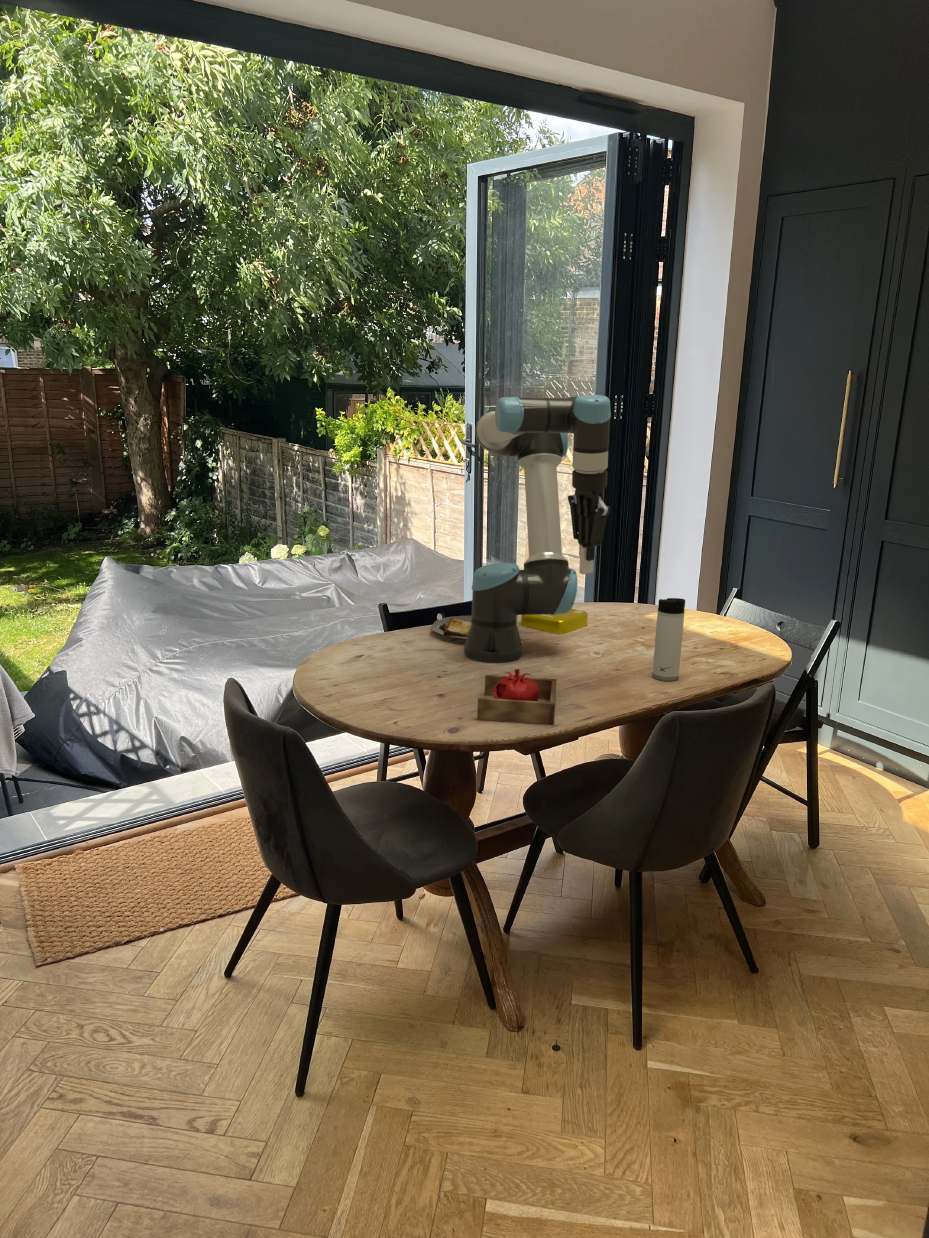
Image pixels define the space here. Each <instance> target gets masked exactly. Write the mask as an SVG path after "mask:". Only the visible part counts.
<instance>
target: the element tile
mask: <svg viewBox="0 0 929 1238" xmlns="http://www.w3.org/2000/svg"><path fill="white" fill-rule="evenodd" d="M588 615H589V613H588V612H587V611H585V610H579V609H575V608H571V610H570V611H569V612H567V613H564V614H554V615H551V614H540V615H520V616H521V620H520V625H521V626H522V627H525V628H528V629H533V630H537V631H540V632H541V631H542V632H545V633H549V634H555V635H566V634H568V633H572V632H574V631H575V632H576V631H577V630H580V629H583V628H585V627H587V626H588V618H589V617H588Z"/></svg>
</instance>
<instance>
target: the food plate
mask: <svg viewBox="0 0 929 1238" xmlns="http://www.w3.org/2000/svg"><path fill="white" fill-rule="evenodd" d="M471 624H472V615H460V616H459V615H458V616H449V617H448V616H447V617H442V618H440V619H436V620H434V622H433V624H431V626H430V631H431V632H432V633H433V634H437V635H439V636H441V637H446V638H448V639H460V640H466V641H467V637H468V634H469V631H470V628H471ZM438 626H439V627H438Z"/></svg>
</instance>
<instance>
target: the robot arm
mask: <svg viewBox="0 0 929 1238" xmlns="http://www.w3.org/2000/svg"><path fill="white" fill-rule="evenodd" d="M611 418H612V412H611V401H610V398H609V397H607V396H605V395H601V394H584V395H579V396H577V395H571V396H568V397H563V398H561V397H521V396H520V397H519V396H509V397H508V396H507V397H503V396H502V397H500V398H499V399H497V402H496V405H495V410H494V411H493V410H492V411H488V412H487V413H485V414H483V415H482V416H481V417H480V418H479V419H478V420H477V422H476V424H475V427H474V435H475V439H476V441H477V443H478V444H479V445H480V446H481V448H483V449H484V450H486V451H487V452H489V453H491V454H494V455H498V456H501V457H502V456H504V457H517V465H518V466H519V467H520V468H521V469H523V472H524V473H523V474H524V489H525V490H524V491H525V507H526V524H527V525H526V526H527V542H528V543H527V545H528V558H527V559H526V560H525V561H524V562H523V569H520V567H519V565H518V564H516V563H512V562H507V563H506V562H498V563H497V562H495V563H490V564H486V565H483V566H479V567H478V568H477V569H475V571H474V573H473V575H472V576H473V577H472V583H471V585H472V586H471V590H472V591H471V592H472V594H471V595H472V596H471V597H472V598H471V616H472V624H471V628H470V631H469V634H468V637H467V640H466V641H465V642H464V646H463V654H464V655H465V657H467V658H469V659H472V660H474V661H479V662H483V663H484V662H486V663H507V662H512V661H517V660H519V659H520V658H521V657H522V656H523V644H522V642H521V641H522V640H521V638H520V633H519V629H518V625H517V624H518V623H517V622H518V621H517V619H518V616H522V615H540V614H551V615H554V614H564V613H567V612H569V611H570V610H571V609H573V607H574V603H575V601H576V597H577V593H578V575H577V571H576V569H573V568H569V560H568V559H567V558H566V557H565V556H563V547H562V546H563V545H562V533H561V531H562V530H561V518H560V517H561V516H560V514H561V513H560V501H559V500H560V499H559V486H558V485H559V483H558V481H559V480H558V470H557V468H558V467H559V465H560V464H561V463H562V462H563V459H562V458H563V457H565V456H566V455H567V452H568V449H569V443H568V442H569V434H572V435H573V438H572V439H573V441H572V442H573V444H572V445H573V446H572V462H571V465H572V466H571V467H572V468H573V471H572V473H571V474H572V476H571V478H572V479H571V486H572V487H573V489H574V494H571V495H568V496H567V501H568V504H569V507H570V508H569V509H570V517H571V518H570V519H571V525H572V526H571V528H572V536H573V539H574V540H577V543H578V545H579V550H578V556H579V570H578V571H579V572H578V573H579V574H581V575H584V576H585V575H587V574H592V573H594V560H595V555H596V554H595V551H596V546H601V545H602V544H603V540H604V534H605V530H606V525H607V520H608V516H609V514H610V513H611V510H612V509H611V506H610V505H606V504H605V502H604V499H605V498H604V493H603V492H604V490H605V489H606V488H607V486H608V471H607V469H608V467H609V463H608V462H609V445H610V426H611Z"/></svg>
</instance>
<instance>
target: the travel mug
mask: <svg viewBox="0 0 929 1238" xmlns="http://www.w3.org/2000/svg"><path fill="white" fill-rule="evenodd" d="M685 608H686V599H684V598H679V597H668V598H665V599H663V598H660V599H658V608H657V614H656V615H657V616H656V626H655V627H656V628H655V639H654V649H653V650H654V651H653V662H652V663H653V664H652V673H651V675H652V677H653V678H654V679H655V680H658V681H662V682H675V681H678V679H679V678H680V677H679V675H680V664H681V656H682V645H683V644H682V643H683V632H684V624H685Z"/></svg>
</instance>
